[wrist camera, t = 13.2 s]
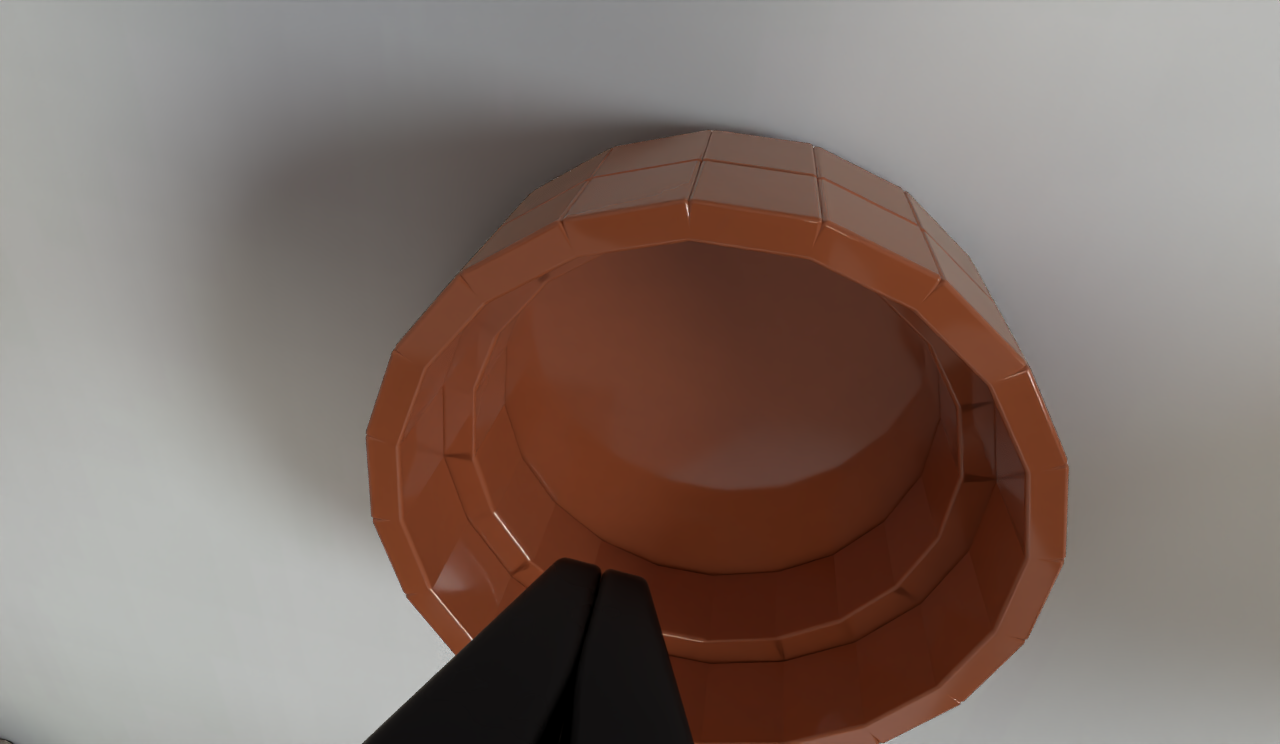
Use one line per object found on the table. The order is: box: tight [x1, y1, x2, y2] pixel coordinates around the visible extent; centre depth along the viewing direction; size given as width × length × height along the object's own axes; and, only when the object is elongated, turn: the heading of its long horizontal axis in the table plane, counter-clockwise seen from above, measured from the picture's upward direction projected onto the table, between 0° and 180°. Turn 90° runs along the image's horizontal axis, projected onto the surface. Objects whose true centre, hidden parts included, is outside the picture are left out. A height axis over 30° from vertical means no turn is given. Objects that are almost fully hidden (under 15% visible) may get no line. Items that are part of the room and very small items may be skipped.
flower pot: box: [366, 130, 1069, 744], centre depth 16 cm, size 11×11×5 cm
